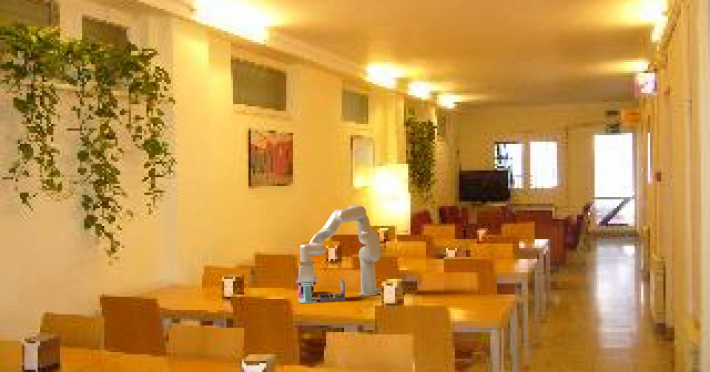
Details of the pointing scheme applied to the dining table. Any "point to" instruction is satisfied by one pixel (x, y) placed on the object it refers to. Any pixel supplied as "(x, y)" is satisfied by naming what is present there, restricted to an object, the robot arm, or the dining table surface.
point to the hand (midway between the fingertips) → (307, 292)
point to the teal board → (307, 292)
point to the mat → (307, 302)
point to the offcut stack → (337, 295)
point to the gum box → (301, 295)
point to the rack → (330, 296)
